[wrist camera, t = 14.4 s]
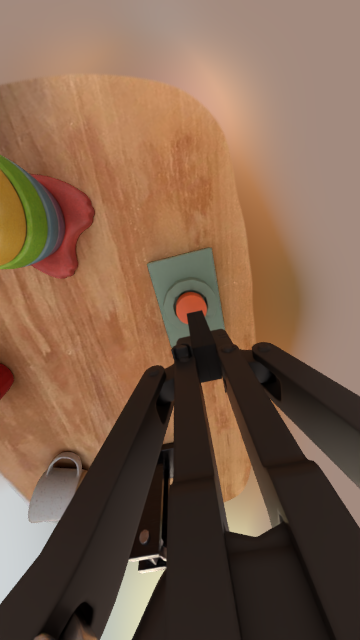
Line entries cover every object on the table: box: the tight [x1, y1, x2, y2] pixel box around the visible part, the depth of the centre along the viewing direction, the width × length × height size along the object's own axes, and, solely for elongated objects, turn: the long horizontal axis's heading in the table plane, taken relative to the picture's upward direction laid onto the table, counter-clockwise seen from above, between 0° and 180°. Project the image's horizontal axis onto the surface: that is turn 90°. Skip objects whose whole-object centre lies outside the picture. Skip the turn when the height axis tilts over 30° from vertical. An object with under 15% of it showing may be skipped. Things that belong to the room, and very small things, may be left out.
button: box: [176, 292, 207, 324], centre depth 22 cm, size 4×4×2 cm
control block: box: [147, 247, 225, 348], centre depth 25 cm, size 12×8×4 cm, turn 13°
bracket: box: [129, 443, 174, 573], centre depth 33 cm, size 11×9×14 cm
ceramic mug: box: [28, 452, 88, 523], centre depth 36 cm, size 11×8×8 cm
